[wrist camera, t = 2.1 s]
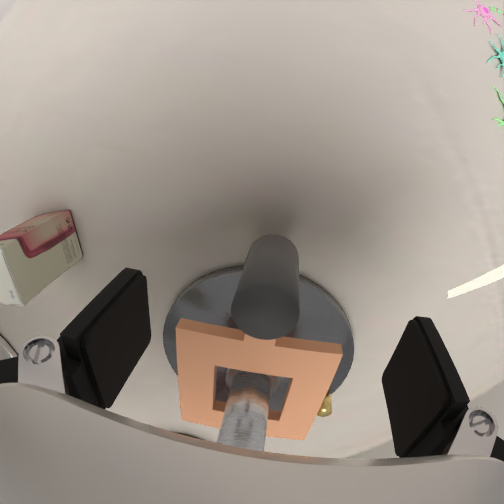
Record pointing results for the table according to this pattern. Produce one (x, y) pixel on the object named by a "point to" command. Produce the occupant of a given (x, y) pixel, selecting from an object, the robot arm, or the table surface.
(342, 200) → the table surface
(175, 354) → the post base
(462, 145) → the table surface
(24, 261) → the small box
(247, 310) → the tan handled frame
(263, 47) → the table surface
